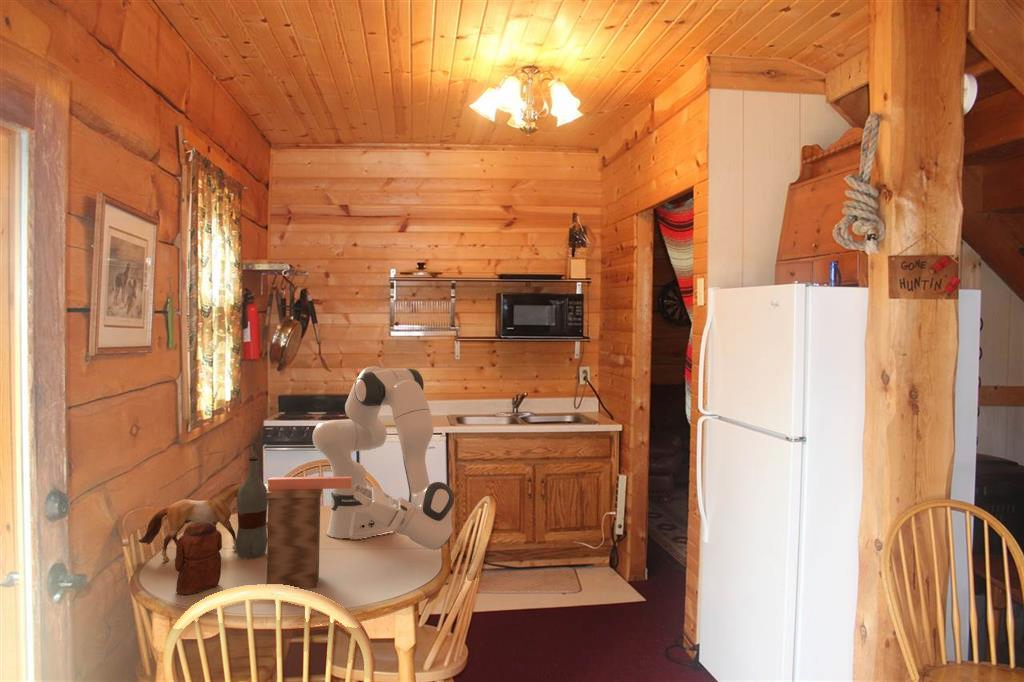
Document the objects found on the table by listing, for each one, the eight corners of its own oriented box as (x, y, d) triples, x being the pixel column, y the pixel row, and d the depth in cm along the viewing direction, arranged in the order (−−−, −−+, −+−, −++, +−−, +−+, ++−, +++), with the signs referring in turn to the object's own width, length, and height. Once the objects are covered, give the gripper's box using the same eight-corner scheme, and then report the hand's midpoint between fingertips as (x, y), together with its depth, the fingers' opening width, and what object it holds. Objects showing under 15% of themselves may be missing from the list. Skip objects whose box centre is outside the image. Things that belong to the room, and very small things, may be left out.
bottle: (240, 550, 233) (241, 454, 232) (270, 550, 234) (272, 454, 233) (231, 559, 223) (233, 459, 223) (263, 559, 224) (265, 459, 224)
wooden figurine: (207, 580, 205) (208, 515, 205) (223, 584, 202) (224, 518, 202) (169, 593, 194) (171, 524, 194) (186, 598, 191) (187, 528, 191)
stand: (320, 575, 211) (322, 484, 210) (318, 588, 201) (320, 491, 201) (268, 578, 208) (270, 484, 208) (264, 590, 198) (266, 492, 198)
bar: (351, 486, 208) (351, 476, 208) (351, 488, 206) (351, 478, 206) (269, 487, 204) (269, 477, 204) (267, 489, 201) (268, 479, 201)
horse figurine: (245, 544, 239) (246, 480, 239) (251, 551, 232) (253, 485, 232) (137, 559, 222) (139, 490, 222) (141, 566, 215) (142, 495, 215)
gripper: (401, 495, 220) (361, 473, 218) (405, 513, 200) (360, 488, 198) (390, 514, 220) (349, 491, 217) (393, 533, 200) (348, 509, 197)
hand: (354, 490), depth 207 cm, fingers open, 8 cm apart
